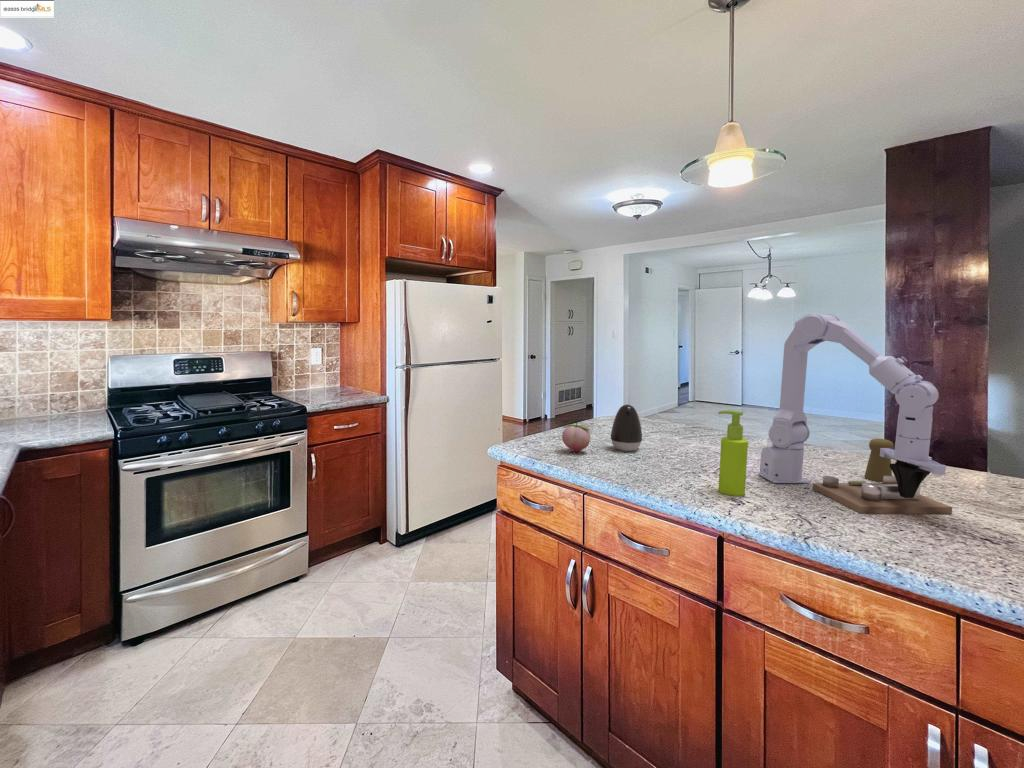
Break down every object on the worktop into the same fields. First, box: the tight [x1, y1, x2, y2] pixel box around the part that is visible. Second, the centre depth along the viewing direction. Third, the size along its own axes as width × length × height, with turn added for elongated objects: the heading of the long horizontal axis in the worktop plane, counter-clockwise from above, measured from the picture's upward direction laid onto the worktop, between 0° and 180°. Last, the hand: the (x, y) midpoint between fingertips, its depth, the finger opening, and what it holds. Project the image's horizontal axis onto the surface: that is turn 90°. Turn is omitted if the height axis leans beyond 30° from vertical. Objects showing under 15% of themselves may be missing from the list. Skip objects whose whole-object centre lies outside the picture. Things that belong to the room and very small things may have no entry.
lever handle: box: [861, 482, 921, 501], centre depth 106 cm, size 12×4×3 cm, turn 91°
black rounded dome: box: [610, 404, 643, 452], centre depth 155 cm, size 10×10×15 cm
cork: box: [863, 438, 895, 483], centre depth 125 cm, size 6×6×11 cm
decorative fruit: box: [561, 421, 591, 453], centre depth 152 cm, size 9×8×10 cm
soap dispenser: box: [717, 409, 749, 497], centre depth 114 cm, size 6×7×20 cm
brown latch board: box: [812, 475, 953, 515], centre depth 109 cm, size 20×16×4 cm
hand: (906, 496), depth 104 cm, fingers closed
